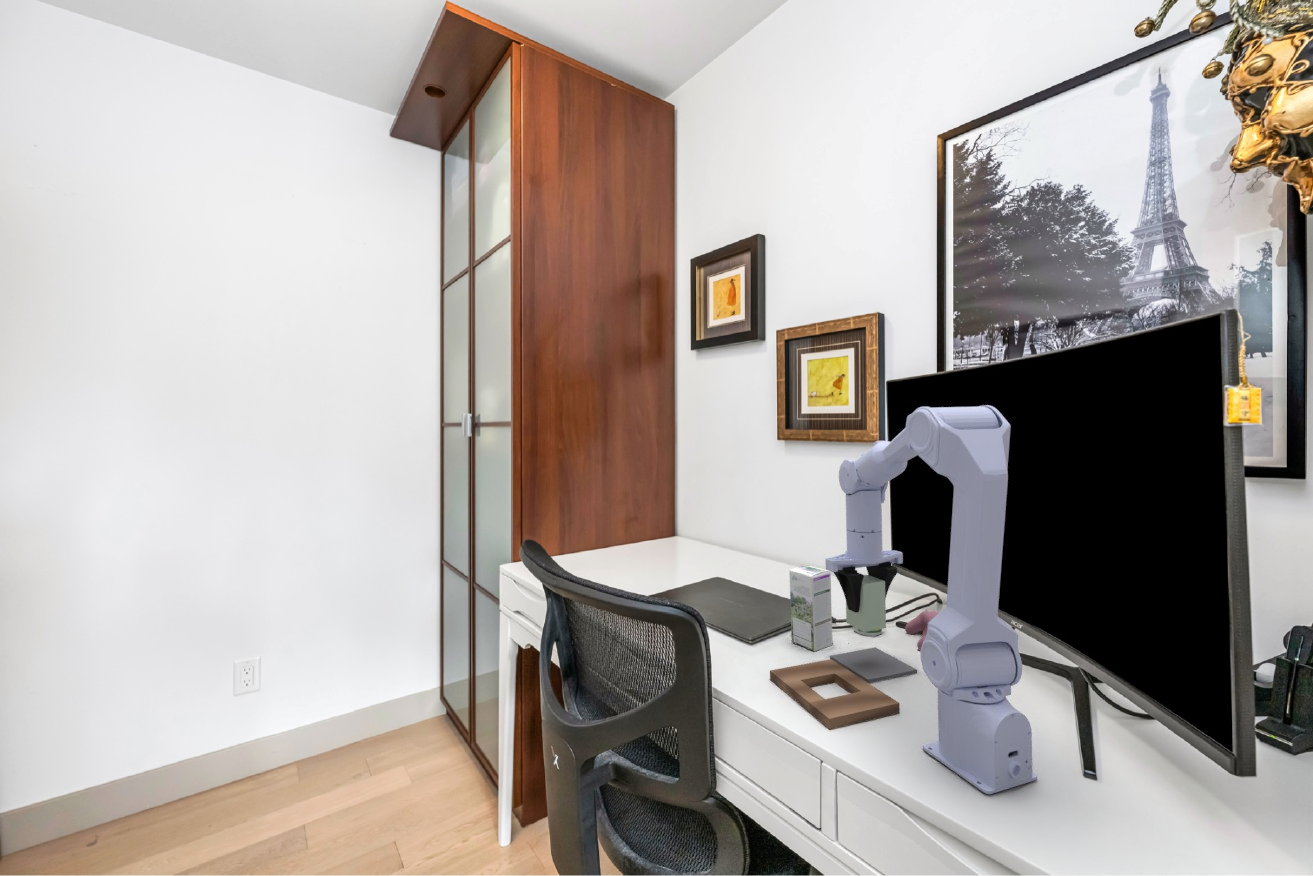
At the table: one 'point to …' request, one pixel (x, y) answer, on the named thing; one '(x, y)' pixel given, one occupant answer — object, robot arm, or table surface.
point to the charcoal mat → (873, 665)
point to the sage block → (869, 606)
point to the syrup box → (811, 607)
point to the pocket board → (838, 709)
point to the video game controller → (920, 625)
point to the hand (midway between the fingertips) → (865, 608)
